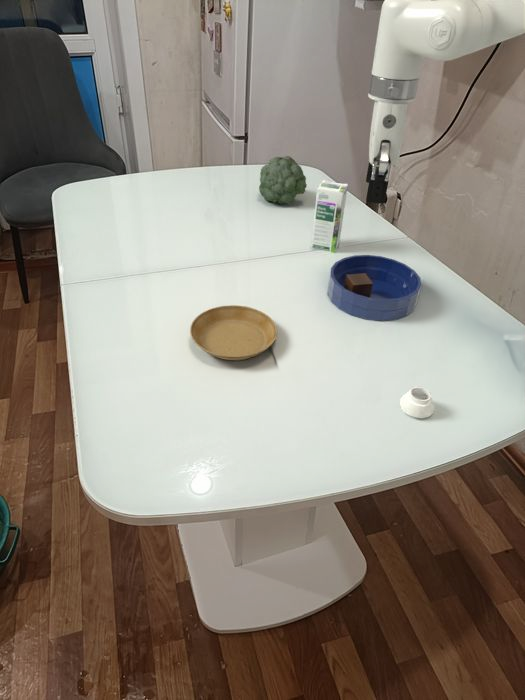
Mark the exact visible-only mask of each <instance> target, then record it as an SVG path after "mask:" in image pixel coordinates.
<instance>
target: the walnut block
mask: <svg viewBox="0 0 525 700" xmlns="http://www.w3.org/2000/svg"><path fill="white" fill-rule="evenodd" d="M372 286H373V283H372V282H371V280H370V279H369V277H368V276H367V275H366V273H361V274H347V275H346V279H345V285H344V288H345V289H347V290H349V291H351V292H353V293H355V294H358V295H362V296H365V297H369V298H370V296H371V291H372Z"/></svg>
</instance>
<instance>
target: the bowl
mask: <svg viewBox="0 0 525 700" xmlns="http://www.w3.org/2000/svg"><path fill="white" fill-rule="evenodd" d="M361 273H366V275H367V276H368V277H369V279H370V280H371V282H372V283H373V286H372V291H371V296H370V298H369V297H365V296H362V295H358V294H355V293H353V292H351V291H349V290H347V289H345V288H344V285H345V279H346V275H347V274H361ZM421 288H422V280H421V277H420V275H418V273H417V272H416V271H415V270H414V269H413V268H412V267H410V266H408V265H407V264H405V263H403V262H402V261H398V260H396V259H393V258H389V257H386V256H382V255H374V254H373V255H372V254H357V255H351V256H346V257H343V258H341V259H340V260H337V261H335V263H333V265H332V266H331V268H330V271H329V279H328V285H327V296H328V298H329V301H330V302H331V303H332V304H333V305H334V306H335V307H336V308H338V310H340V311H342V312H344V313H346V314H348V315H350V316H353V317H356V318H358V319H359V318H360V319H363V320H368V321H376V322H383V321H384V322H385V321H395V320H398V319H401V318H405V317H407V316H408V315H409V314H411V313H413V312H414V310H415V308H416V306H417V303H418V299H419V295H420V293H421Z"/></svg>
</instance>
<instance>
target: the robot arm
mask: <svg viewBox="0 0 525 700" xmlns="http://www.w3.org/2000/svg"><path fill="white" fill-rule="evenodd" d="M524 34H525V0H384V1H383V3H382V5H381V9H380V16H379V21H378V28H377V34H376V40H375V41H376V42H375V49H374V54H373V63H372V68H371V74H370V82H369V87H368V94H367V97H368V98H369V99H370V100H373V101H374V103H373V108H372V109H373V110H372V117H371V123H370V132H369V133H370V134H369V143H368V157H369V158H368V159H369V160H368V165H367V171H366V178H365V183H368V184H367V185H368V186H367V190H366V197H365V202H366V203H371V204H380V205H383V204H385V202H386V197H387V192H388V188H389V175H390V168H391V166H393V167H394V168H396V167H398V166H399V163H400V156H401V150H402V145H403V139H404V134H405V127H406V121H407V115H408V108H409V107H408V105H409V104H410V103H411V104H412V103H414V102H415V101H416V96H417V91H418V86H419V82H420V76H421V72H422V67H423V62H424V58H427V59H430V60H433V61H437V62H449V61H454V60H456V59H460V58H461V57H464V56H467V55H471V54H474V53H476V52H478V51H481V50H483V49H486V48H488V47H492V46H494V45H497V44H499V43H502V42H504V41H508V40H510V39H513V38H516V37H519V36H521V35H524Z"/></svg>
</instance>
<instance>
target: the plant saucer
mask: <svg viewBox="0 0 525 700" xmlns="http://www.w3.org/2000/svg"><path fill="white" fill-rule="evenodd" d="M189 334H190V337H191V339H192V341H193V342H194V343H195V345H196V346H198V347H199V348H200V349H201V350H202V351H204V352H205V353H206V354H209V355H210V356H213V357H215V358H218V359H221V360H225V361H226V360H227V361H241V360H247V359H250V358H253V357H256V356H258V355H260V354H262V353H263V352H264V351H266V350H267V349H269V348H270V347H271V346H272V345H273V343H274V342H275V340H276V339H277V336H278V328H277V325H276V322H275V321H274V320H273V319H272V318H271V317H270V316H269V315H267V313H265V312H262V311H261V310H258V309H256V308H253V307H250V306H246V305H234V304H233V305H220V306H216V307H211V308H209V309H207V310H204V311H203V312H201V313H200V314H198V315H197V316H195V318H194V319H193V321H192V322H191V324H190V327H189Z"/></svg>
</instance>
